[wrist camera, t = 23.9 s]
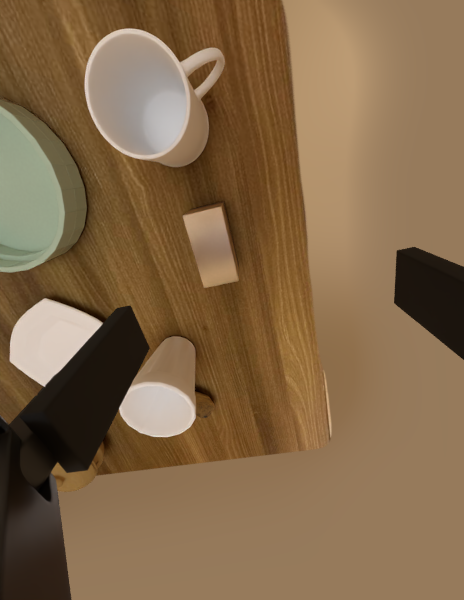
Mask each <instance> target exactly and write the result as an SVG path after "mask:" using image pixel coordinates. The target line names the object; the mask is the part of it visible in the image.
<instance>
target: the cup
mask: <svg viewBox="0 0 464 600" xmlns="http://www.w3.org/2000/svg"><path fill="white" fill-rule="evenodd" d="M195 355H196V351H195V347H194V346H193V344H192V343H191V342H190V341H189V340H187V339H185V338H183V337H178V336H172V337H169V338H166V339H165V340H164V341H163V342H162V343H161V344H160V345H159V347H158V348H157V349H156V351H155V352H154V353H153V355H152V356H151V357H150V359H149V360H148V361H147V362H146V364H145V365H144V366H143V368H142V369H141V370H140V372H139V373H138V374H137V376H136V377H135V378H134V380H133V382H132V384H131V386H130V388H129V390H128V392H127V394H126V396H125V398H124V400H123V402H122V404H121V406H120V408H119V410H120V414H121V416H122V418H123V419H124V420H125V421H126V423H127V424H128V425H129V426H130V427H132V428H134V429H135V430H137V431H138V432H140V433H143V434H147V435H150V436H153V437H170V436H174V435H178V434H181V433H182V432H184V431H185V430H187V429H188V428H190V427H191V425H192V423H193V421H194V420H195V418H196V396H195Z"/></svg>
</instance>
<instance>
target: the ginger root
mask: <svg viewBox="0 0 464 600" xmlns="http://www.w3.org/2000/svg"><path fill="white" fill-rule="evenodd" d="M195 396H196V415H198V416H199V417H201V418H206V417H208V416H209V415H210V414H211V413H212V411H213V410H214V408H215V404H214V403H213V401H212V400H211V398H210V397H209V396H207V395H206V394H202V393H199V392H195Z"/></svg>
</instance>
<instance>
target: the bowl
mask: <svg viewBox="0 0 464 600" xmlns="http://www.w3.org/2000/svg"><path fill="white" fill-rule="evenodd" d="M86 211H87V204H86V196H85V188H84V185H83V182H82V179H81V176H80V174H79V171H78V168H77V166H76V164H75V162H74V160H73V159H72V157H71V155H70V154H69V152H68V150H67V149H66V147H65V146H64V144H63V143H62V142H61V140H60V139H59V138H58V137H57V136H56V135H55V134H54V133H53V132H52V131H51V129H50V128H49V127H48V126H47V125H46V124H45V123H44V122H43V121H41V120H40V119H39V118H37V117H36V116H34V115H33V114H32V113H30V112H29V111H28V110H26V109H25V108H24V107H22V106H19V105H17V104H15V103H13V102H10V101H8V100H6V99H3V98H1V97H0V271H1V272H17V271H24V270H29V269H31V268H33V267H36V266H38V265H40V264H42V263H44V262H47V261H49V260H51V259H53V258H55V257H58V256H60V255H62V254H64V253H66V252H67V251H68V250H69V249H70V248H71V247H72V246H73V245H74V244H75V243H76V242H77V241H78V239H79V237H80V235H81V232H82V230H83V228H84V225H85V218H86Z"/></svg>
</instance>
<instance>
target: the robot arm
mask: <svg viewBox="0 0 464 600" xmlns="http://www.w3.org/2000/svg"><path fill="white" fill-rule="evenodd" d="M395 278H396V279H395V297H394V303H395V304H396V305H397V306H398V307H400V308H401V309H402V310H403V311H404V312H406V313H407V314H408V315H409V316H411V317H412V318H413V319H414V320H415V321H417V322H418V323H419V324H421V325H422V326H423V327H424V328H425V329H427V330H428V331H429V332H430V333H431V334H433V335H434V336H435V337H436V338H438V339H439V340H440V341H441V342H442V343H444V344H445V345H446V346H447V347H449V348H450V349H451V350H452V351H454V352H455V353H456V354H457V355H458V356H460V357H461V358H462V359H463V360H464V267H463V266H460V265H458V264H455V263H453V262H450V261H448V260H445V259H443V258H440V257H438V256H435V255H433V254H431V253H428V252H426V251H423V250H421V249H418V248H416V247H412V248H407V249H402V250H397V257H396V277H395ZM148 350H149V345H148V343H147V341H146V339H145V337H144V334H143V332H142V330H141V328H140V326H139V323H138V321H137V319H136V317H135V314H134V312H133V310H132V308H131V306H125V307H121V308H117V309H116V310H115V311H114V312H113V313H112V314H111V315H110V316H109V317H108V319H107V320H106V321H105V322H104V323H103V324H102V325H101V326H100V327H99V328H98V330H97V331H96V332H95V333H94V334H93V335H92V336H91V337H90V338H89V339H88V341H87V342H86V343H85V344H84V345H83V346H82V347H81V348H80V349H79V351H78V352H77V353H76V354H75V355H74V356H73V357H72V358H71V359H70V360H69V362H68V363H67V364H66V365H65V366H64V367H63V368H62V369H61V370H60V371H59V372H58V373H57V374H55V375H54V376H53V377H52V378H51V380H50V381H49V382H48V383H47V384H46V385H45V387H43V388H42V389H41V390H40V392H39V393H38V395H37V396H35V397H34V398H33V399H32V400H31V401H30V402H29V404H28V405H27V406H26V407H25V408H24V409H23V410H22V411H21V412H20V413H19V415H18V416H17V417H16V418H15V419H14V420H13V421H12V422H11V423H10V424H9V425H8V423H7V422H6V421H5V420H4V419H3V418H2V417H1V415H0V600H71V594H70V586H69V578H68V571H67V562H66V555H65V547H64V538H63V530H62V522H61V515H60V507H59V499H58V491H57V483H56V479H55V477H54V476H53V474H52V473H51V472H52V470H53V468H54V467H55V465H56V464H57V462H58V463H59V464H60V466H61V467H62V468H63V469H64V470H65V472H66V473H72V472H79V471H87V470H88V469H89V467H90V465H91V463H92V461H93V459H94V457H95V455H96V453H97V451H98V449H99V447H100V445H101V443H102V441H103V439H104V437H105V435H106V433H107V431H108V429H109V427H110V425H111V423H112V421H113V420H114V418H115V416H116V414H117V412H118V410H119V408H120V406H121V404H122V402H123V400H124V398H125V396H126V394H127V392H128V390H129V388H130V386H131V384H132V382H133V380H134V378H135V376H136V374H137V372H138V370H139V368H140V366H141V364H142V362H143V360H144V358H145V356H146V354H147V352H148Z"/></svg>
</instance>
